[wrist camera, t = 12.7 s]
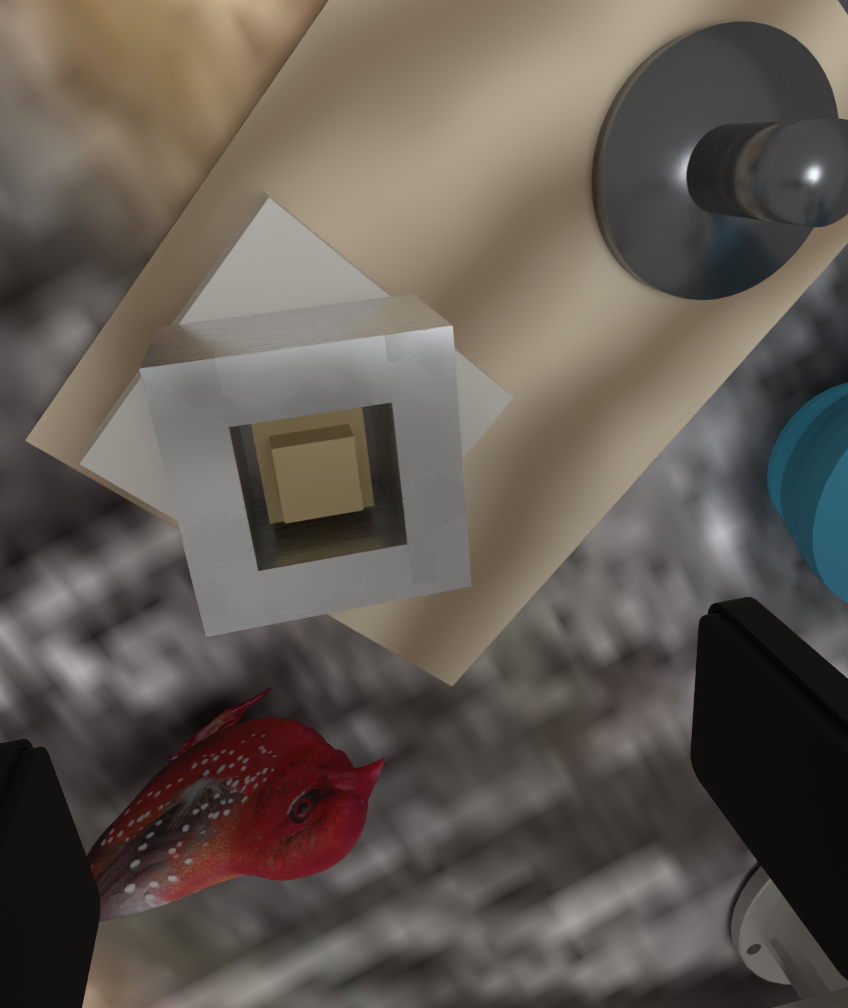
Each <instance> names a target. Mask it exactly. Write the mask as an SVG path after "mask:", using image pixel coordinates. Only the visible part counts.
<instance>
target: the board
mask: <svg viewBox="0 0 848 1008" xmlns="http://www.w3.org/2000/svg"><path fill="white" fill-rule="evenodd" d="M735 21H740V22H757V23H762V24H767V25H770V26H773V27H775V28H778V29H781V30H783V31H784V32H786V33H788V34H790V35H791V36H793V37H795V38H796V39H797V40H798V41H799V42H801V43H802V44H803V45H804V46H805V47H807V49H808V50H809V51H810V52H811V53H812V54H813V56H814V57H815V58H816V59H817V61H818V62H819V64H820V65H821V67H822V69H823V70H824V72H825V74H826V76H827V78H828V80H829V83H830V85H831V87H832V90H833V94H834V97H835V101H836V104H837V111H838V117H839V118H840V119H846V120H848V15H847V13H846V12H845V10H844V9H843V7H842V6H841V4H840V3H839V1H838V0H328V2H327V3H326V5H325V6H324V8H323V9H322V11H321V12H320V13H319V15H318V16H317V18H316V19H315V21H314V22H313V24H312V25H311V27H310V28H309V29H308V31H307V32H306V34H305V35H304V37H303V38H302V40H301V41H300V42H299V44H298V45H297V47H296V48H295V50H294V51H293V53H292V54H291V56H290V57H289V58H288V60H287V61H286V63H285V64H284V66H283V67H282V69H281V70H280V72H279V73H278V74H277V76H276V77H275V79H274V80H273V82H272V83H271V85H270V86H269V87H268V89H267V90H266V92H265V93H264V95H263V96H262V98H261V99H260V101H259V102H258V103H257V105H256V106H255V108H254V109H253V111H252V112H251V114H250V115H249V117H248V118H247V119H246V121H245V122H244V124H243V125H242V127H241V128H240V130H239V131H238V132H237V134H236V135H235V137H234V138H233V140H232V141H231V143H230V144H229V146H228V147H227V148H226V150H225V151H224V153H223V154H222V156H221V157H220V159H219V160H218V162H217V163H216V164H215V166H214V167H213V169H212V170H211V172H210V173H209V175H208V176H207V177H206V179H205V180H204V182H203V183H202V185H201V186H200V188H199V189H198V191H197V192H196V193H195V195H194V196H193V198H192V199H191V201H190V202H189V204H188V205H187V207H186V208H185V209H184V211H183V212H182V214H181V215H180V217H179V218H178V220H177V221H176V222H175V224H174V225H173V227H172V228H171V230H170V231H169V233H168V234H167V236H166V237H165V238H164V240H163V241H162V243H161V244H160V246H159V247H158V249H157V250H156V252H155V253H154V254H153V256H152V257H151V259H150V260H149V262H148V263H147V265H146V266H145V267H144V269H143V270H142V272H141V273H140V275H139V276H138V278H137V279H136V281H135V282H134V283H133V285H132V286H131V288H130V289H129V291H128V292H127V294H126V295H125V297H124V298H123V299H122V301H121V302H120V304H119V305H118V307H117V308H116V310H115V311H114V312H113V314H112V315H111V317H110V318H109V320H108V321H107V323H106V324H105V326H104V327H103V328H102V330H101V331H100V333H99V334H98V336H97V337H96V339H95V340H94V342H93V343H92V344H91V346H90V347H89V349H88V350H87V352H86V353H85V355H84V356H83V357H82V359H81V360H80V362H79V363H78V365H77V366H76V368H75V369H74V371H73V372H72V373H71V375H70V376H69V378H68V379H67V381H66V382H65V384H64V385H63V387H62V388H61V389H60V391H59V392H58V394H57V395H56V397H55V398H54V400H53V401H52V402H51V404H50V405H49V407H48V408H47V410H46V411H45V413H44V414H43V416H42V417H41V418H40V420H39V421H38V423H37V424H36V426H35V427H34V429H33V430H32V432H31V433H30V434H29V436H28V437H27V439H26V440H25V441H27V442H29V443H30V444H32V445H34V446H35V447H37V448H39V449H41V450H42V451H44V452H46V453H48V454H49V455H51V456H53V457H55V458H56V459H58V460H60V461H62V462H63V463H65V464H67V465H68V466H70V467H72V468H74V469H75V470H77V471H79V472H81V473H82V474H84V475H86V476H88V477H89V478H91V479H93V480H95V481H96V482H98V483H100V484H101V485H103V486H105V487H107V488H108V489H110V490H112V491H114V492H115V493H117V494H119V495H121V496H122V497H124V498H126V499H127V500H129V501H131V502H133V503H134V504H136V505H138V506H140V507H141V508H143V509H145V510H147V511H148V512H150V513H152V514H154V515H155V516H157V517H159V518H160V519H162V520H164V521H166V522H167V523H169V524H171V525H173V526H174V527H176V528H178V529H179V526H178V522H177V521H176V520H175V519H173V518H171V517H170V516H168V515H166V514H164V513H163V512H161V511H159V510H158V509H156V508H154V507H152V506H151V505H149V504H147V503H145V502H144V501H142V500H140V499H139V498H137V497H135V496H133V495H132V494H130V493H128V492H127V491H125V490H123V489H121V488H120V487H118V486H116V485H114V484H113V483H111V482H109V481H108V480H106V479H104V478H102V477H101V476H99V475H97V474H96V473H94V472H92V471H90V470H89V469H87V468H85V467H83V466H82V465H80V462H81V460H82V458H83V456H84V454H85V452H86V450H87V448H88V446H89V444H90V442H91V440H92V438H93V436H94V434H95V432H96V430H97V429H98V427H99V426H100V424H101V423H102V422H103V420H104V419H105V417H106V416H107V414H108V413H109V412H110V410H111V409H112V407H113V406H114V405H115V403H116V402H117V400H118V399H119V398H120V396H121V395H122V393H123V392H124V390H125V389H126V388H127V386H128V385H129V383H130V382H131V381H132V379H133V378H134V376H135V375H136V374H137V372H138V371H139V369H140V366H141V364H142V362H143V360H144V357H145V355H146V353H147V351H148V348H149V346H150V344H151V342H152V339H153V337H154V335H155V332H156V330H157V328H158V327H162V326H169V325H171V324H172V323H173V321H174V320H175V319H176V317H177V316H178V314H179V313H180V311H181V310H182V309H183V307H184V306H185V304H186V303H187V302H188V300H189V299H190V297H191V296H192V295H193V293H194V292H195V290H196V289H197V288H198V286H199V285H200V283H201V282H202V280H203V279H204V278H205V276H206V275H207V273H208V272H209V271H210V269H211V268H212V266H213V265H214V264H215V262H216V261H217V259H218V258H219V256H220V255H221V254H222V252H223V251H224V249H225V248H226V247H227V245H228V244H229V242H230V241H231V240H232V238H233V237H234V235H235V234H236V232H237V231H238V230H239V228H240V227H241V225H242V224H243V223H244V221H245V220H246V218H247V217H248V216H249V214H250V213H251V211H252V210H253V209H254V207H255V206H256V204H257V203H258V201H259V200H260V199H261V197H262V196H263V194H264V193H265V192H266V193H267V194H268V195H270V196H271V197H272V198H273V199H274V200H276V201H277V202H278V203H279V204H280V205H282V206H283V207H284V208H285V209H287V210H288V211H289V212H290V213H291V214H293V215H294V216H295V217H296V218H298V219H299V220H300V221H301V222H302V223H304V224H305V225H306V226H307V227H309V228H310V229H311V230H312V231H313V232H315V233H316V234H317V235H318V236H320V237H321V238H322V239H323V240H324V241H326V242H327V243H328V244H329V245H331V246H332V247H333V248H334V249H335V250H337V251H338V252H339V253H340V254H342V255H343V256H344V257H345V258H346V259H348V260H349V261H350V262H351V263H353V264H354V265H355V266H356V267H357V268H359V269H360V270H361V271H362V272H364V273H365V274H366V275H367V276H368V277H370V278H371V279H372V280H373V281H375V282H376V283H377V284H378V285H379V286H381V287H382V288H383V289H384V290H386V291H387V292H388V293H389V294H390V295H392V296H400V295H408V294H415V295H416V296H417V297H418V298H419V299H421V300H422V301H423V302H424V303H426V304H427V305H428V306H429V307H431V308H432V309H433V310H434V311H435V312H437V313H438V314H439V315H440V316H442V317H443V318H444V319H445V320H447V321H448V322H449V323H450V324H451V325H453V335H454V347H455V348H456V349H458V350H459V351H460V352H461V353H462V354H464V355H465V356H466V357H467V358H469V359H470V360H471V361H472V362H473V363H475V364H476V365H477V366H478V367H480V368H481V369H482V370H483V371H484V372H486V373H487V374H488V375H489V376H490V377H491V378H492V379H494V380H495V381H496V382H497V383H498V384H499V385H500V386H501V387H502V388H504V389H505V390H506V391H507V392H508V393H509V394H510V395H511V396H513V397H514V398H513V399H512V400H511V402H510V403H509V404H508V405H507V407H506V408H505V409H504V410H503V411H502V413H501V414H500V415H499V416H498V417H497V419H496V420H495V421H494V422H493V423H492V425H491V426H490V427H489V428H488V429H487V431H486V432H485V433H484V434H483V435H482V437H481V438H480V439H479V440H478V441H477V443H476V444H475V445H474V446H473V447H472V449H471V450H470V451H469V452H468V453H467V455H466V456H465V457H464V458H463V473H464V487H465V501H466V515H467V529H468V543H469V556H470V570H471V584H472V586H470V587H465V588H460V589H455V590H449V591H444V592H439V593H434V594H428V595H423V596H418V597H413V598H408V599H402V600H397V601H392V602H387V603H381V604H376V605H371V606H366V607H361V608H355V609H350V610H345V611H340V612H334V613H329V614H327V615H329V616H331V617H332V618H334V619H336V620H338V621H339V622H341V623H343V624H344V625H346V626H348V627H350V628H351V629H353V630H355V631H357V632H358V633H360V634H362V635H364V636H365V637H367V638H369V639H371V640H372V641H374V642H376V643H377V644H379V645H381V646H383V647H384V648H386V649H388V650H390V651H391V652H393V653H395V654H397V655H398V656H400V657H402V658H403V659H405V660H407V661H409V662H410V663H412V664H414V665H416V666H417V667H419V668H421V669H423V670H424V671H426V672H428V673H430V674H431V675H433V676H435V677H436V678H438V679H440V680H442V681H443V682H445V683H447V684H449V685H450V686H453V685H454V684H455V683H456V682H457V681H458V680H459V678H460V677H461V676H462V675H463V674H464V673H465V672H466V671H467V670H468V668H469V667H470V666H471V665H472V664H473V663H474V662H475V661H476V659H477V658H478V657H479V656H480V655H481V654H482V653H483V652H484V650H485V649H486V648H487V647H488V646H489V645H490V644H491V643H492V641H493V640H494V639H495V638H496V637H497V636H498V635H499V634H500V633H501V631H502V630H503V629H504V628H505V627H506V626H507V625H508V624H509V622H510V621H511V620H512V619H513V618H514V617H515V616H516V615H517V613H518V612H519V611H520V610H521V609H522V608H523V607H524V606H525V604H526V603H527V602H528V601H529V600H530V599H531V598H532V597H533V595H534V594H535V593H536V592H537V591H538V590H539V589H540V588H541V587H542V585H543V584H544V583H545V582H546V581H547V580H548V579H549V578H550V576H551V575H552V574H553V573H554V572H555V571H556V570H557V569H558V567H559V566H560V565H561V564H562V563H563V562H564V561H565V560H566V558H567V557H568V556H569V555H570V554H571V553H572V552H573V551H574V550H575V548H576V547H577V546H578V545H579V544H580V543H581V542H582V541H583V539H584V538H585V537H586V536H587V535H588V534H589V533H590V532H591V530H592V529H593V528H594V527H595V526H596V525H597V524H598V523H599V521H600V520H601V519H602V518H603V517H604V516H605V515H606V514H607V512H608V511H609V510H610V509H611V508H612V507H613V506H614V505H615V504H616V502H617V501H618V500H619V499H620V498H621V497H622V496H623V495H624V493H625V492H626V491H627V490H628V489H629V488H630V487H631V486H632V484H633V483H634V482H635V481H636V480H637V479H638V478H639V477H640V475H641V474H642V473H643V472H644V471H645V470H646V469H647V468H648V467H649V465H650V464H651V463H652V462H653V461H654V460H655V459H656V458H657V456H658V455H659V454H660V453H661V452H662V451H663V450H664V449H665V447H666V446H667V445H668V444H669V443H670V442H671V441H672V440H673V438H674V437H675V436H676V435H677V434H678V433H679V432H680V431H681V430H682V428H683V427H684V426H685V425H686V424H687V423H688V422H689V421H690V419H691V418H692V417H693V416H694V415H695V414H696V413H697V412H698V410H699V409H700V408H701V407H702V406H703V405H704V404H705V403H706V401H707V400H708V399H709V398H710V397H711V396H712V395H713V394H714V392H715V391H716V390H717V389H718V388H719V387H720V386H721V385H722V384H723V382H724V381H725V380H726V379H727V378H728V377H729V376H730V375H731V373H732V372H733V371H734V370H735V369H736V368H737V367H738V366H739V364H740V363H741V362H742V361H743V360H744V359H745V358H746V357H747V355H748V354H749V353H750V352H751V351H752V350H753V349H754V348H755V347H756V345H757V344H758V343H759V342H760V341H761V340H762V339H763V338H764V336H765V335H766V334H767V333H768V332H769V331H770V330H771V329H772V327H773V326H774V325H775V324H776V323H777V322H778V321H779V320H780V318H781V317H782V316H783V315H784V314H785V313H786V312H787V311H788V309H789V308H790V307H791V306H792V305H793V304H794V303H795V302H796V301H797V299H798V298H799V297H800V296H801V295H802V294H803V293H804V292H805V290H806V289H807V288H808V287H809V286H810V285H811V284H812V283H813V281H814V280H815V279H816V278H817V277H818V276H819V275H820V274H821V272H822V271H823V270H824V269H825V268H826V267H827V266H828V265H829V264H830V262H831V261H832V260H833V259H834V258H835V257H836V256H837V255H838V253H839V252H840V251H841V250H842V249H843V248H844V247H845V246H846V244H847V243H848V214H847V215H846V216H845V217H843V218H842V219H840V220H839V221H837V222H835V223H833V224H831V225H828V226H824V227H814V228H813V230H812V232H811V233H810V235H809V236H808V238H807V239H806V241H805V242H804V243H803V244H802V246H801V247H800V248H799V250H798V251H797V252H796V253H795V254H794V255H793V256H792V257H791V258H790V259H789V260H788V261H787V263H786V264H785V265H784V266H782V267H781V268H780V269H779V270H777V271H776V272H775V273H774V274H773V275H771V276H770V277H768V278H767V279H765V280H764V281H762V282H761V283H759V284H758V285H756V286H754V287H752V288H750V289H748V290H746V291H744V292H741V293H738V294H735V295H732V296H729V297H725V298H720V299H714V300H691V299H684V298H680V297H676V296H672V295H669V294H666V293H663V292H660V291H658V290H655V289H653V288H651V287H648V286H646V285H644V284H643V283H641V282H639V281H638V280H636V279H635V278H634V277H632V276H631V275H630V274H629V273H628V272H626V271H625V270H624V269H623V268H622V266H621V265H620V264H619V263H618V262H617V261H616V260H615V258H614V257H613V255H612V254H611V252H610V250H609V249H608V247H607V246H606V243H605V241H604V239H603V237H602V235H601V233H600V230H599V226H598V223H597V220H596V217H595V211H594V206H593V200H592V166H593V159H594V153H595V147H596V143H597V140H598V136H599V133H600V129H601V126H602V124H603V122H604V119H605V117H606V114H607V112H608V110H609V108H610V106H611V104H612V102H613V100H614V99H615V97H616V95H617V93H618V92H619V90H620V89H621V87H622V86H623V85H624V83H625V82H626V80H627V79H628V78H629V76H630V75H631V74H632V73H633V72H634V71H635V70H636V68H637V67H638V66H639V65H640V64H641V63H642V62H643V61H644V60H646V59H647V58H648V57H649V56H650V55H651V54H652V53H653V52H655V51H656V50H658V49H659V48H661V47H662V46H663V45H665V44H666V43H668V42H669V41H672V40H674V39H676V38H678V37H680V36H682V35H684V34H686V33H689V32H692V31H695V30H698V29H702V28H706V27H709V26H713V25H717V24H722V23H729V22H735Z"/></svg>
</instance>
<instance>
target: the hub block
mask: <svg viewBox="0 0 848 1008" xmlns="http://www.w3.org/2000/svg"><path fill="white" fill-rule="evenodd" d="M385 297H392V295H390V294H389V293H388V292H387V291H386V290H384V289H383V288H382V287H381V286H379V285H378V284H377V283H376V282H375V281H373V280H372V279H371V278H370V277H368V276H367V275H366V274H365V273H364V272H362V271H361V270H360V269H359V268H357V267H356V266H355V265H354V264H353V263H351V262H350V261H349V260H348V259H346V258H345V257H344V256H343V255H342V254H340V253H339V252H338V251H337V250H335V249H334V248H333V247H332V246H331V245H329V244H328V243H327V242H326V241H324V240H323V239H322V238H321V237H320V236H318V235H317V234H316V233H315V232H313V231H312V230H311V229H310V228H309V227H307V226H306V225H305V224H304V223H302V222H301V221H300V220H299V219H298V218H296V217H295V216H294V215H293V214H291V213H290V212H289V211H288V210H287V209H285V208H284V207H283V206H282V205H280V204H279V203H278V202H277V201H276V200H274V199H273V198H272V197H271V196H270V195H268V194H267V193H266V192H265V193H264V194H263V196H262V197H261V199H260V200H259V201H258V203H257V204H256V206H255V207H254V209H253V210H252V211H251V213H250V214H249V216H248V217H247V218H246V220H245V221H244V223H243V224H242V225H241V227H240V228H239V230H238V231H237V232H236V234H235V235H234V237H233V238H232V240H231V241H230V242H229V244H228V245H227V247H226V248H225V249H224V251H223V252H222V254H221V255H220V256H219V258H218V259H217V261H216V262H215V264H214V265H213V266H212V268H211V269H210V271H209V272H208V273H207V275H206V276H205V278H204V279H203V280H202V282H201V283H200V285H199V286H198V288H197V289H196V290H195V292H194V293H193V295H192V296H191V297H190V299H189V300H188V302H187V303H186V304H185V306H184V307H183V309H182V310H181V311H180V313H179V314H178V316H177V317H176V319H175V320H174V321H173V323H172V324H171V325H177V324H185V323H192V322H200V321H208V320H215V319H223V318H231V317H239V316H246V315H254V314H262V313H269V312H277V311H285V310H292V309H300V308H308V307H315V306H323V305H331V304H339V303H346V302H354V301H362V300H369V299H377V298H385ZM454 349H455V362H456V376H457V390H458V404H459V418H460V432H461V446H462V459H463V458H464V457H465V456H466V455H467V453H468V452H469V451H470V450H471V449H472V447H473V446H474V445H475V444H476V443H477V441H478V440H479V439H480V438H481V437H482V435H483V434H484V433H485V432H486V431H487V429H488V428H489V427H490V426H491V425H492V423H493V422H494V421H495V420H496V419H497V417H498V416H499V415H500V414H501V413H502V411H503V410H504V409H505V408H506V407H507V405H508V404H509V403H510V402H511V400H512V399H513V398H514V397H513V396H511V395H510V394H509V393H508V392H507V391H506V390H505V389H504V388H502V387H501V386H500V385H499V384H498V383H497V382H496V381H495V380H494V379H492V378H491V377H490V376H489V375H488V374H487V373H486V372H484V371H483V370H482V369H481V368H480V367H478V366H477V365H476V364H475V363H473V362H472V361H471V360H470V359H469V358H467V357H466V356H465V355H464V354H462V353H461V352H460V351H459V350H458V349H456V348H455V347H454ZM240 429H241V434H242V439H243V444H244V449H245V454H246V459H247V464H248V469H249V474H250V479H251V484H252V489H253V494H254V500H255V499H261V498H265V500H266V505H267V511H268V516H269V521H270V524H271V523H277V522H283V521H284V522H285V523H291V522H297V521H303V520H309V519H314V518H320V517H326V516H332V515H338V514H344V513H350V512H355V511H361V510H363V508H365V507H370V506H374V498H373V490H372V482H371V480H375V479H379V473H378V465H377V457H376V449H375V441H374V432H373V424H372V416H371V408H370V406H365V407H359V408H352V409H345V410H339V411H332V412H325V413H319V414H312V415H306V416H299V417H292V418H286V419H279V420H273V421H266V422H259V423H253V424H246V425H240ZM80 465H82V466H83V467H85V468H87V469H89V470H90V471H92V472H94V473H96V474H97V475H99V476H101V477H102V478H104V479H106V480H108V481H109V482H111V483H113V484H114V485H116V486H118V487H120V488H121V489H123V490H125V491H127V492H128V493H130V494H132V495H133V496H135V497H137V498H139V499H140V500H142V501H144V502H145V503H147V504H149V505H151V506H152V507H154V508H156V509H158V510H159V511H161V512H163V513H164V514H166V515H168V516H170V517H171V518H173V519H175V520H176V521H177V518H176V514H175V510H174V506H173V502H172V498H171V494H170V490H169V486H168V482H167V478H166V474H165V470H164V466H163V462H162V458H161V454H160V450H159V446H158V442H157V438H156V434H155V430H154V425H153V421H152V417H151V413H150V409H149V405H148V401H147V397H146V393H145V389H144V385H143V381H142V377H141V373H140V369H139V371H138V372H137V374H136V375H135V376H134V378H133V379H132V381H131V382H130V383H129V385H128V386H127V388H126V389H125V390H124V392H123V393H122V395H121V396H120V398H119V399H118V400H117V402H116V403H115V405H114V406H113V407H112V409H111V410H110V412H109V413H108V414H107V416H106V417H105V419H104V420H103V422H102V423H101V424H100V426H99V427H98V429H97V430H96V432H95V434H94V436H93V438H92V440H91V442H90V444H89V446H88V448H87V450H86V452H85V454H84V456H83V458H82V460H81V462H80Z"/></svg>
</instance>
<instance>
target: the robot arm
mask: <svg viewBox="0 0 848 1008" xmlns="http://www.w3.org/2000/svg"><path fill="white" fill-rule="evenodd" d="M691 762H692V766H693V769H694V772H695V774H696V776H697V778H698V780H699V781H700V783H701V784H702V785H703V787H704V788H705V789H706V791H707V792H708V794H709V795H710V796H711V798H712V799H713V800H714V802H715V803H716V805H717V806H718V807H719V809H720V810H721V811H722V813H723V814H724V816H725V817H726V818H727V820H728V821H729V822H730V824H731V825H732V827H733V828H734V829H735V831H736V832H737V833H738V835H739V836H740V838H741V839H742V840H743V842H744V843H745V844H746V846H747V847H748V849H749V850H750V851H751V853H752V854H753V855H754V857H755V858H756V860H757V861H758V862H759V864H760V865H761V866H760V867H759V869H758V870H757V871H756V872H755V873H754V874H753V875H752V877H751V878H750V880H749V881H748V883H747V884H746V886H745V887H744V889H743V890H742V892H741V894H740V896H739V899H738V901H737V903H736V905H735V908H734V911H733V916H732V921H731V938H732V941H733V944H734V946H735V949H736V951H737V952H738V954H739V955H740V957H741V958H742V960H743V962H744V963H745V965H746V966H747V968H748V969H750V970H751V971H752V972H753V973H754V974H755V975H756V976H758V977H761V978H763V979H765V980H767V981H770V982H775V983H780V984H792V986H793V987H794V989H795V990H796V992H797V994H798V995H799V997H800V998H801V1000H799V1001H796V1002H792V1003H788V1004H785V1005H781V1006H778V1007H774V1008H848V678H846V677H845V676H844V675H843V674H842V673H841V672H839V671H838V670H837V669H836V668H835V667H834V666H832V665H831V664H830V663H829V662H828V661H827V660H826V659H824V658H823V657H822V656H821V655H820V654H819V653H817V652H816V651H815V650H814V649H813V648H812V647H810V646H809V645H808V644H807V643H806V642H805V641H803V640H802V639H801V638H800V637H799V636H798V635H796V634H795V633H794V632H793V631H792V630H791V629H790V628H788V627H787V626H786V625H785V624H784V623H783V622H781V621H780V620H779V619H778V618H777V617H776V616H774V615H773V614H772V613H771V612H770V611H769V610H767V609H766V608H765V607H764V606H763V605H762V604H760V603H759V602H758V601H757V600H755V599H754V598H752V597H744V598H739V599H734V600H729V601H724V602H719V603H714V604H713V605H711V606H710V608H709V610H708V615H704V616H702V617H701V619H700V621H699V629H698V644H697V660H696V676H695V692H694V707H693V723H692V739H691ZM100 907H101V906H100V895H99V890H98V886H97V884H96V881H95V878H94V875H93V873H92V870H91V867H90V865H89V862H88V859H87V856H86V854H85V851H84V848H83V846H82V843H81V840H80V837H79V835H78V832H77V829H76V827H75V824H74V821H73V818H72V816H71V813H70V810H69V808H68V805H67V802H66V799H65V797H64V794H63V791H62V788H61V786H60V783H59V780H58V778H57V775H56V772H55V769H54V767H53V764H52V761H51V759H50V756H49V754H48V752H47V750H46V749H45V748H44V747H37V748H33V746H32V744H31V743H30V742H29V741H28V740H26V739H20V740H15V741H10V742H5V743H0V1008H82V1005H83V1000H84V995H85V990H86V985H87V980H88V975H89V970H90V965H91V960H92V955H93V950H94V945H95V940H96V935H97V930H98V924H99V919H100Z"/></svg>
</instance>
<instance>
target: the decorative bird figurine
mask: <svg viewBox="0 0 848 1008" xmlns="http://www.w3.org/2000/svg"><path fill="white" fill-rule="evenodd" d="M270 690H271V688H268V689H267V690H266V691H264V692H262V693H261V694H259V695H257V696H255V697H254V698H252V699H250V700H249V701H247V702H245V703H243V704H240V705H234V706H231V707H229V708H228V709H226V710H225V711H223V712H222V713H221V714H219V715H218V716H217V717H216V718H215V719H214V720H212V721H211V722H210V723H209V724H208V725H206V726H205V727H203V728H201V729H200V730H199V731H198V732H197V734H196V735H195V737H193V738H191V739H190V740H188V741H187V742H185V743H184V744H183V746H182V749H183V750H182V751H181V752H180V753H178V754H176V755H172V756H169V757H168V758H166V760H172V761H171V762H170V763H169V764H167V765H166V766H165V767H164V768H163V769H162V770H161V771H160V772H159V773H157V774H156V775H155V776H154V777H153V778H152V779H151V780H150V782H149V783H148V784H147V785H146V786H145V787H144V788H143V790H142V791H141V792H140V793H139V794H138V795H137V796H136V798H135V799H134V800H133V801H132V802H131V803H130V805H129V806H128V807H127V808H126V809H125V810H124V811H123V812H122V814H121V815H120V816H119V817H118V818H117V819H116V820H115V821H114V822H113V823H112V824H111V825H110V826H109V827H108V828H107V829H106V830H105V831H104V833H103V834H102V835H101V836H100V837H99V839H98V840H97V841H96V843H95V844H94V845H93V847H92V849H91V850H90V852H89V854H88V855H87V859H88V862H89V865H90V867H91V870H92V873H93V875H94V878H95V881H96V884H97V886H98V890H99V895H100V906H101V907H100V919H99V921H105V920H110V919H115V918H119V917H123V916H128V915H132V914H137V913H140V912H143V911H146V910H149V909H152V908H156V907H159V906H162V905H165V904H168V903H171V902H173V901H176V900H178V899H181V898H183V897H185V896H188V895H190V894H192V893H195V892H197V891H200V890H202V889H205V888H207V887H209V886H212V885H215V884H217V883H220V882H223V881H226V880H229V879H233V878H236V877H239V876H243V875H255V876H259V877H263V878H268V879H270V880H280V881H284V880H292V879H296V878H300V877H305V876H309V875H312V874H315V873H319V872H322V871H324V870H326V869H328V868H330V867H332V866H333V865H335V864H336V863H338V862H339V861H340V860H341V859H343V858H344V857H345V856H346V855H347V854H348V853H349V852H350V850H351V849H352V848H353V847H354V845H355V844H356V842H357V840H358V839H359V837H360V835H361V832H362V830H363V827H364V824H365V821H366V817H367V810H368V799H369V797H370V794H371V792H372V790H373V787H374V785H375V784H376V782H377V780H378V778H379V776H380V771H381V768H382V767H383V764H384V758H383V759H381V760H380V761H376V762H373V763H371V764H369V765H365V766H363V767H359V768H354V767H353V764H352V763H351V761H350V760H349V759H348V757H347V755H346V754H345V753H344V752H343V751H341V750H337V749H334V747H332V746H331V745H330V744H328V743H327V742H326V741H325V740H324V738H323V737H322V736H321V735H320V734H319V733H318V732H317V731H316V730H314V729H312V728H310V727H308V726H306V725H305V724H303V723H301V722H299V721H296V720H293V719H287V718H279V717H264V718H258V719H254V720H249V721H245V722H241V723H237V724H235V723H236V722H237V721H239V720H240V718H241V717H242V715H243V714H244V712H245V710H246V709H247V708H248V707H250V706H251V705H252V704H254V703H255V702H257V701H259V700H260V699H262V698H263V697H264V696H265V695H266V694H267V693H268V692H269V691H270Z"/></svg>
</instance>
